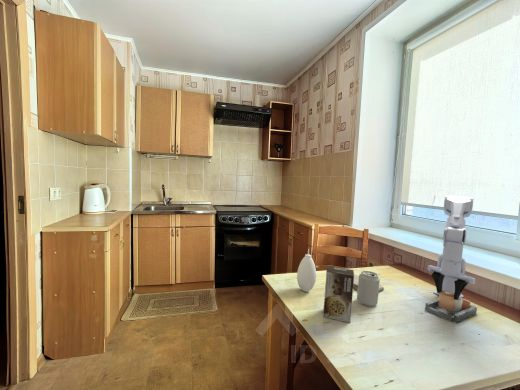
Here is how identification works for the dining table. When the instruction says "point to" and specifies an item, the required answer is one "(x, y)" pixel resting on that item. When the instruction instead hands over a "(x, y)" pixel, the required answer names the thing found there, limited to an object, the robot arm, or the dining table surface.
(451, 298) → the terracotta jar
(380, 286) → the washcloth
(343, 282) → the coffee box
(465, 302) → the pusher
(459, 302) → the grey jar
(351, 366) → the dining table surface
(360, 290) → the can
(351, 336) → the dining table surface
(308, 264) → the sauce bottle
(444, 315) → the grey tray
